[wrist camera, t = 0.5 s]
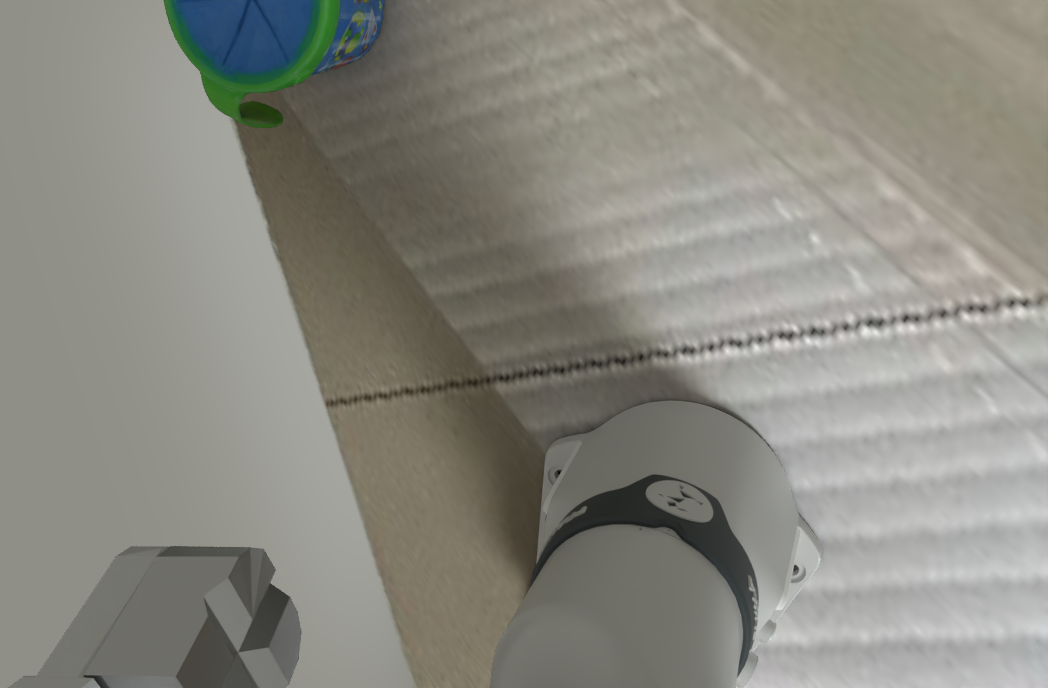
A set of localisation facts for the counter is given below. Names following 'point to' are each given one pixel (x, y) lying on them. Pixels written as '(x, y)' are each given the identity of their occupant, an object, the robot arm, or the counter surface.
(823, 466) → the counter surface
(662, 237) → the counter surface
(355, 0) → the snack cup
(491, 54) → the counter surface
